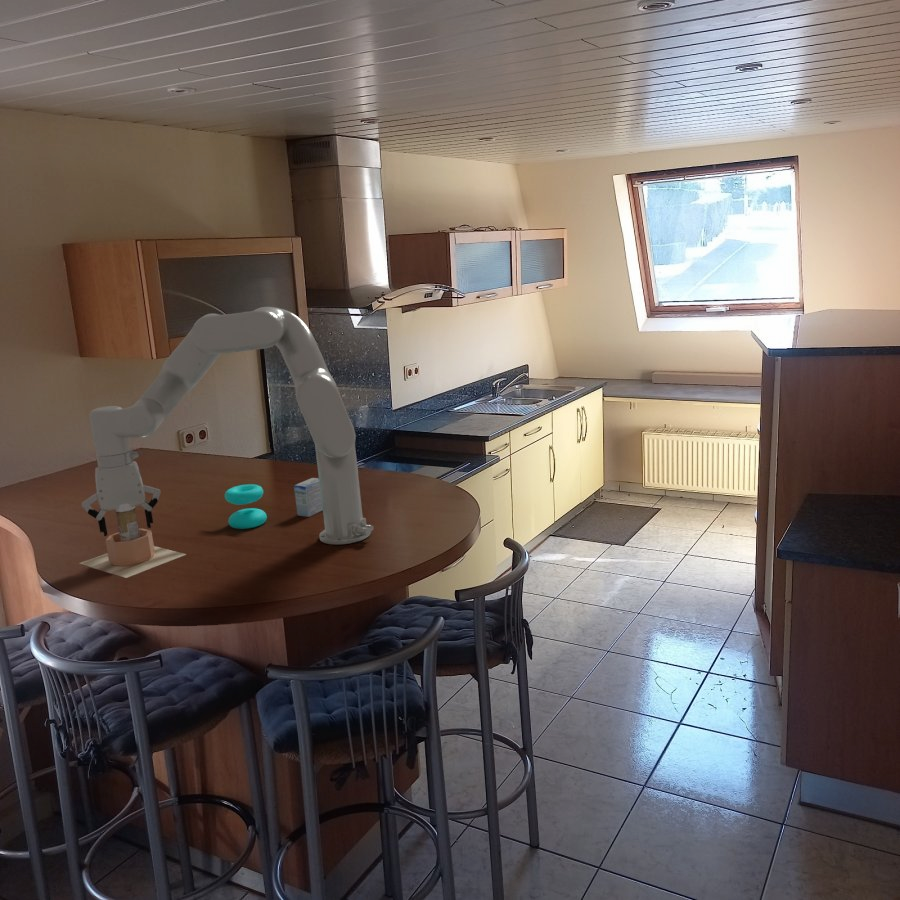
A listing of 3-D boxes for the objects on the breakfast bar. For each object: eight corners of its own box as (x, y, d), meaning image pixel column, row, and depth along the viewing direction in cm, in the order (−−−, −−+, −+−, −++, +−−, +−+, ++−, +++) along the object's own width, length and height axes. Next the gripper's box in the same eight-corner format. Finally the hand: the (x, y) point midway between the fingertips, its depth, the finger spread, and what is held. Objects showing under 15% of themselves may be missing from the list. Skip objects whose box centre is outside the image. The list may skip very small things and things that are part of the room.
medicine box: (315, 507, 232) (312, 477, 230) (328, 508, 229) (324, 478, 227) (297, 515, 225) (293, 485, 223) (309, 517, 223) (305, 486, 221)
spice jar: (119, 556, 197) (109, 502, 193) (137, 550, 200) (127, 497, 197) (129, 560, 194) (119, 505, 190) (147, 553, 197) (137, 499, 194)
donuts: (215, 491, 218) (244, 481, 226) (221, 527, 220) (249, 516, 228) (241, 495, 212) (270, 485, 220) (247, 532, 214) (275, 520, 222)
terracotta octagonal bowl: (162, 555, 198) (158, 532, 196) (125, 569, 190) (121, 545, 189) (139, 549, 203) (135, 526, 202) (102, 562, 196) (98, 539, 195)
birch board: (187, 560, 197) (186, 554, 197) (127, 584, 185) (126, 577, 185) (139, 547, 209) (138, 541, 209) (79, 569, 197) (78, 563, 197)
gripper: (153, 451, 198) (164, 519, 202) (74, 463, 191) (88, 533, 195) (155, 457, 191) (167, 527, 195) (74, 469, 185) (87, 542, 189)
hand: (127, 530), depth 195 cm, fingers open, 9 cm apart
